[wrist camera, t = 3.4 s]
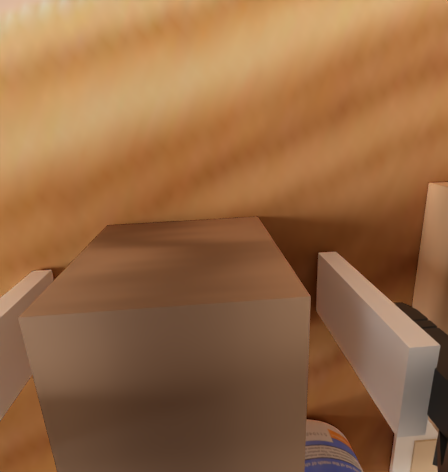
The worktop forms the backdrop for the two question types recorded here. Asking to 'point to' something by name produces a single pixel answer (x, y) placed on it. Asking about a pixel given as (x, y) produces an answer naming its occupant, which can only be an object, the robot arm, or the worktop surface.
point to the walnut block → (174, 351)
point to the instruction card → (414, 452)
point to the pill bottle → (328, 449)
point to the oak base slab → (434, 261)
